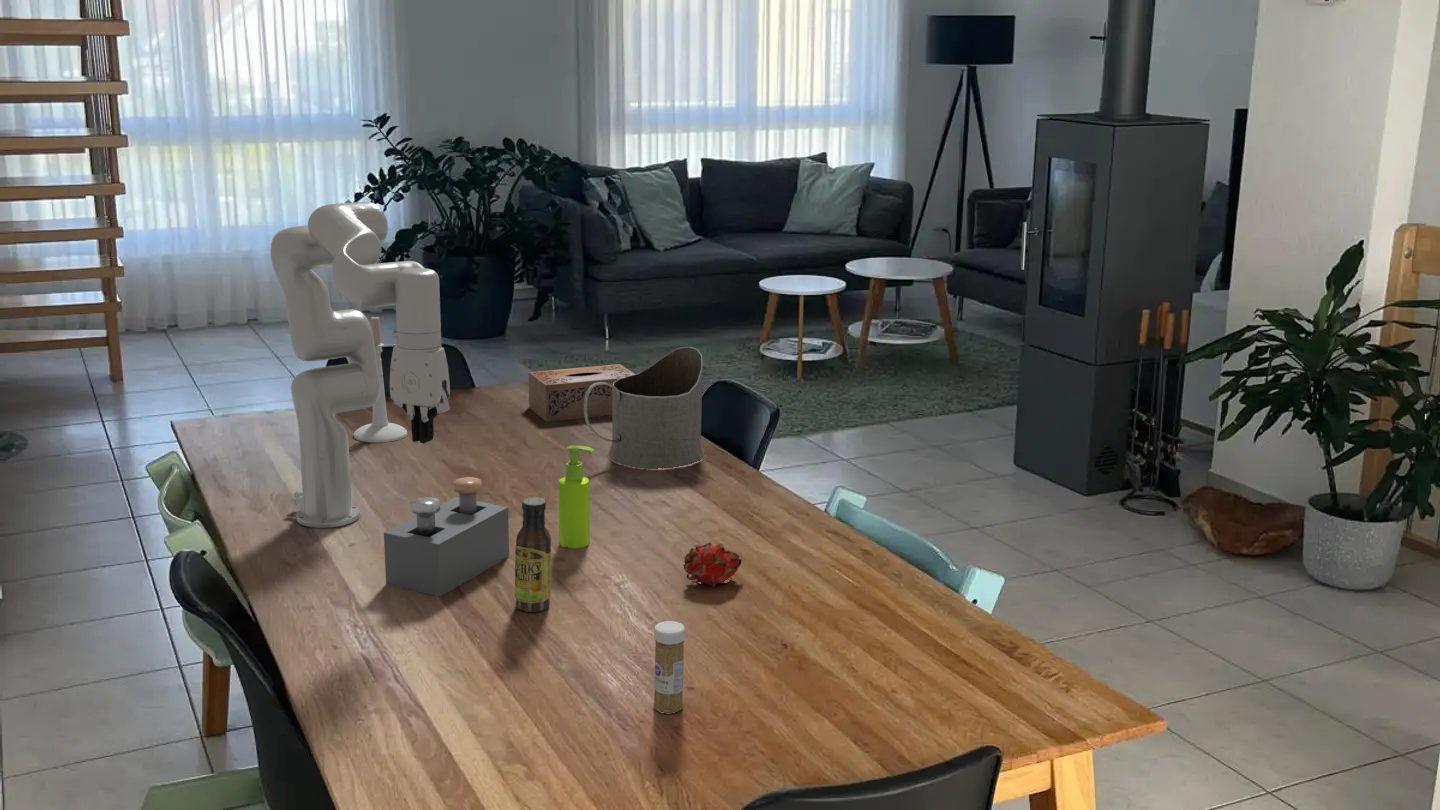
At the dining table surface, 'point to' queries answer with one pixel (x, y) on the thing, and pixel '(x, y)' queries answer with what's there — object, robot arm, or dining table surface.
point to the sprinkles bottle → (669, 666)
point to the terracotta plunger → (467, 493)
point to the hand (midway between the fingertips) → (422, 440)
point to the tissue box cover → (573, 391)
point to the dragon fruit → (711, 564)
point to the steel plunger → (425, 514)
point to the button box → (446, 548)
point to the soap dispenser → (574, 502)
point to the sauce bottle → (533, 558)
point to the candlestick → (379, 405)
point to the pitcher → (657, 413)
